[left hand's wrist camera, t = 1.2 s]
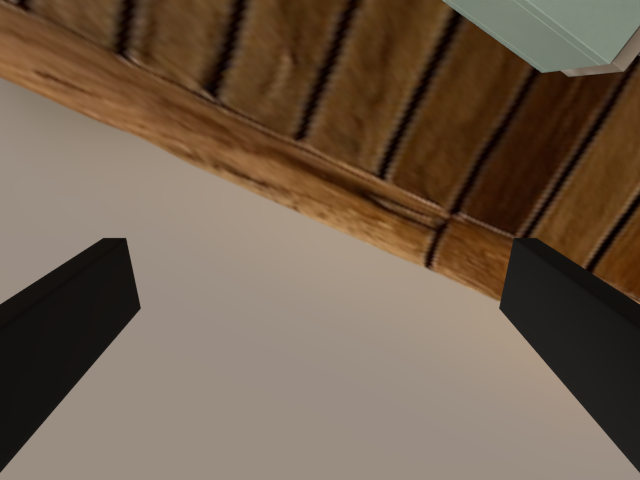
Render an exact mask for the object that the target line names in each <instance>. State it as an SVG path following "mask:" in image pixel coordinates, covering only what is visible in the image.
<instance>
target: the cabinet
mask: <svg viewBox="0 0 640 480" xmlns="http://www.w3.org/2000/svg"><path fill="white" fill-rule="evenodd" d="M442 1H444V2H445V3H446V4H448V5H449V6H451V7H452V8H453V9H455V10H456V11H457V12H459V13H460V14H462V15H463V16H464V17H466V18H467V19H468V20H470V21H471V22H473V23H474V24H475V25H477V26H478V27H480V28H481V29H482V30H484V31H485V32H486V33H488V34H489V35H491V36H492V37H493V38H495V39H496V40H498V41H499V42H500V43H502V44H503V45H504V46H506V47H507V48H509V49H510V50H511V51H513V52H514V53H515V54H517V55H518V56H520V57H521V58H522V59H524V60H525V61H527V62H528V63H529V64H531V65H532V66H533V67H535V68H536V69H538V70H539V71H540V72H542V73H543V72H552V71H559V70H567V69H575V68H583V67H591V66H598V65H606V64H610V63H611V62H612V61H613V59H614V58H615V57H616V56H617V54H618V53H619V52H620V50H621V49H622V48H623V46H624V45H625V44H626V43H627V41H628V40H629V39H630V37H631V36H632V35H633V34H634V32H635V31H636V30H637V28H638V27H639V26H640V0H442Z"/></svg>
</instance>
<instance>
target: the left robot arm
mask: <svg viewBox="0 0 640 480" xmlns="http://www.w3.org/2000/svg"><path fill="white" fill-rule="evenodd" d="M140 309H141V307H140V303H139V298H138V293H137V288H136V283H135V278H134V274H133V269H132V264H131V259H130V255H129V250H128V245H127V240H126V238H103V239H101V240H100V241H98V242H97V243H95V244H93V245H92V246H90V247H89V248H87V249H86V250H84V251H83V252H81V253H79V254H78V255H76V256H75V257H73V258H72V259H70V260H69V261H67V262H66V263H64V264H62V265H61V266H59V267H58V268H56V269H55V270H53V271H51V272H50V273H48V274H47V275H45V276H44V277H42V278H41V279H39V280H38V281H36V282H34V283H33V284H31V285H30V286H28V287H27V288H25V289H24V290H22V291H20V292H19V293H17V294H16V295H14V296H13V297H11V298H10V299H8V300H6V301H5V302H3V303H2V304H0V472H1V471H2V470H3V469H4V468H5V467H6V465H7V464H8V463H9V462H10V461H11V460H12V458H13V457H14V456H15V455H16V454H17V453H18V451H19V450H20V449H21V448H22V447H23V445H24V444H25V443H26V442H27V441H28V440H29V438H30V437H31V436H32V435H33V434H34V433H35V431H36V430H37V429H38V428H39V427H40V426H41V424H42V423H43V422H44V421H45V420H46V419H47V417H48V416H49V415H50V414H51V413H52V411H53V410H54V409H55V408H56V407H57V406H58V405H59V403H60V402H61V401H62V400H63V399H64V398H65V396H66V395H67V394H68V393H69V392H70V390H71V389H72V388H73V387H74V386H75V385H76V384H77V382H78V381H79V380H80V379H81V378H82V377H83V375H84V374H85V373H86V372H87V371H88V369H89V368H90V367H91V366H92V365H93V364H94V362H95V361H96V360H97V359H98V358H99V357H100V355H101V354H102V353H103V352H104V351H105V350H106V348H107V347H108V346H109V345H110V344H111V343H112V341H113V340H114V339H115V338H116V337H117V336H118V334H119V333H120V332H121V331H122V330H123V329H124V327H125V326H126V325H127V324H128V323H129V321H130V320H131V319H132V318H133V317H134V316H135V315H136V313H137V312H138V311H139V310H140ZM499 309H500V310H501V311H502V312H503V313H504V314H505V316H506V317H507V318H508V319H509V320H510V322H511V323H512V324H513V325H514V326H515V327H516V329H517V330H518V331H519V332H520V333H521V334H522V336H523V337H524V338H525V339H526V340H527V341H528V343H529V344H530V345H531V346H532V347H533V348H534V350H535V351H536V352H537V353H538V354H539V355H540V357H541V358H542V359H543V360H544V361H545V362H546V364H547V365H548V366H549V367H550V368H551V369H552V371H553V372H554V373H555V374H556V375H557V377H558V378H559V379H560V380H561V381H562V382H563V384H564V385H565V386H566V387H567V388H568V389H569V391H570V392H571V393H572V394H573V395H574V396H575V398H576V399H577V400H578V401H579V402H580V403H581V405H582V406H583V407H584V408H585V409H586V410H587V412H588V413H589V414H590V415H591V416H592V417H593V419H594V420H595V421H596V422H597V423H598V424H599V426H600V427H601V428H602V429H603V430H604V431H605V433H606V434H607V435H608V436H609V437H610V438H611V440H612V441H613V442H614V443H615V444H616V445H617V447H618V448H619V449H620V450H621V451H622V453H623V454H624V455H625V456H626V457H627V458H628V459H629V461H630V462H631V463H632V464H633V465H634V467H635V468H636V469H637V470H638V471H639V472H640V304H638V303H637V302H635V301H634V300H632V299H630V298H629V297H627V296H626V295H624V294H623V293H621V292H620V291H618V290H616V289H615V288H613V287H612V286H610V285H609V284H607V283H606V282H604V281H602V280H601V279H599V278H598V277H596V276H595V275H593V274H592V273H590V272H589V271H587V270H585V269H584V268H582V267H581V266H579V265H578V264H576V263H575V262H573V261H571V260H570V259H568V258H567V257H565V256H564V255H562V254H561V253H559V252H557V251H556V250H554V249H553V248H551V247H550V246H548V245H547V244H545V243H543V242H542V241H540V240H539V239H537V238H514V240H513V245H512V250H511V255H510V259H509V264H508V269H507V274H506V278H505V283H504V288H503V293H502V298H501V302H500V307H499Z"/></svg>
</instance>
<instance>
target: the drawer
mask: <svg viewBox="0 0 640 480" xmlns="http://www.w3.org/2000/svg"><path fill="white" fill-rule="evenodd" d="M637 54H638V55H639V56H640V26H639V27H638V28H637V30H636V31H635V32H634V34H633V35H632V36H631V37H630V39H629V40H628V41H627V43H626V44H625V45H624V46H623V48H622V49H621V50H620V52H619V53H618V54H617V56H616V57H615V58H614V59H613V61H612V62H611V63H610V64H606V65H598V66H591V67H583V68H575V69H567V70H560V71H562V72H563V73H564V74H566V75H567V76H568V77H571V76H581V75H591V74H601V73H611V72H622V71H625V70H626V68H627V67H628V66H629V65H630V63H631V62H632V61H633V59H634V58H635V57H636V56H637Z"/></svg>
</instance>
